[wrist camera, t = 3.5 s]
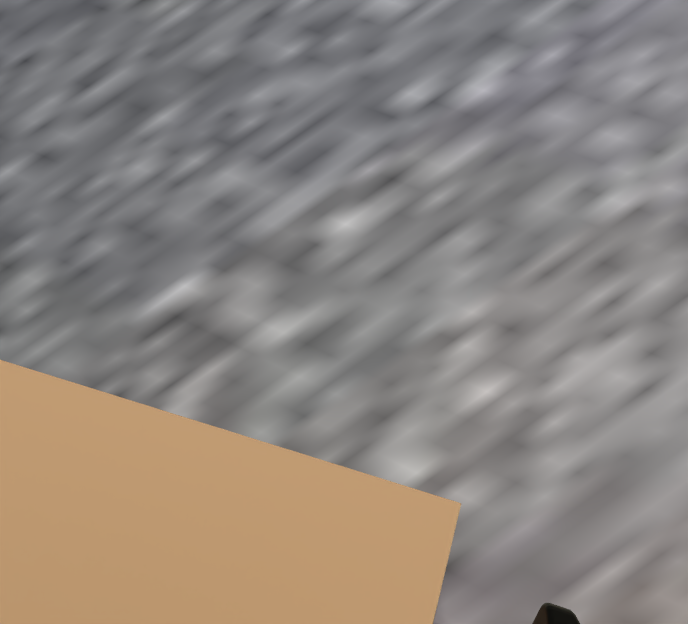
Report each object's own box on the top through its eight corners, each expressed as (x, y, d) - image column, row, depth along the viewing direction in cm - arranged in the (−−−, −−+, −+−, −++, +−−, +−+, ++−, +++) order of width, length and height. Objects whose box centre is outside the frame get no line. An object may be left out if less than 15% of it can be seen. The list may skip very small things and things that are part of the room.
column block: (356, 712, 14) (280, 1267, 4) (167, 641, 15) (-321, 949, 5) (410, 503, 16) (460, 503, 5) (234, 448, 16) (-26, 351, 6)
